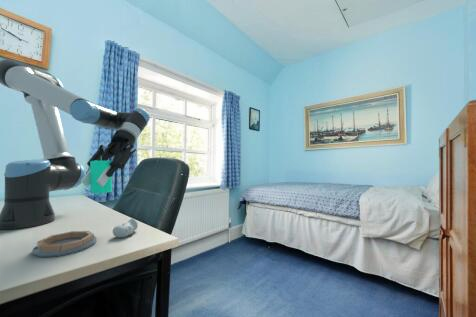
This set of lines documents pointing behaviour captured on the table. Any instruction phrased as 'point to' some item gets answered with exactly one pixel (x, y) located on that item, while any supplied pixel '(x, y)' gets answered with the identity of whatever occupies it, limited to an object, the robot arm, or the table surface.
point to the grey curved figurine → (125, 228)
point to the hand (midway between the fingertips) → (92, 183)
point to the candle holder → (64, 244)
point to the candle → (96, 172)
